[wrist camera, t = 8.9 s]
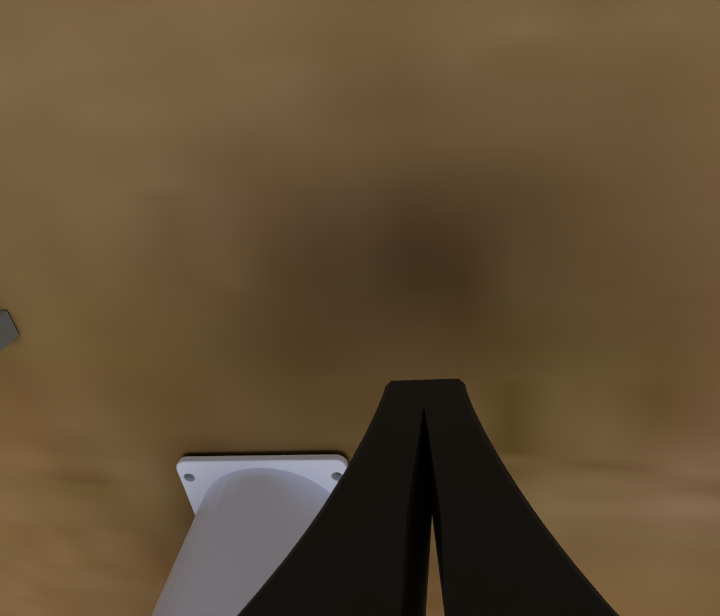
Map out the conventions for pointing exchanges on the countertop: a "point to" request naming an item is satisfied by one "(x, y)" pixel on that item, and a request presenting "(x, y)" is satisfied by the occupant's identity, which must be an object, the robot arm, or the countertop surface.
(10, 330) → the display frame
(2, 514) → the countertop surface
